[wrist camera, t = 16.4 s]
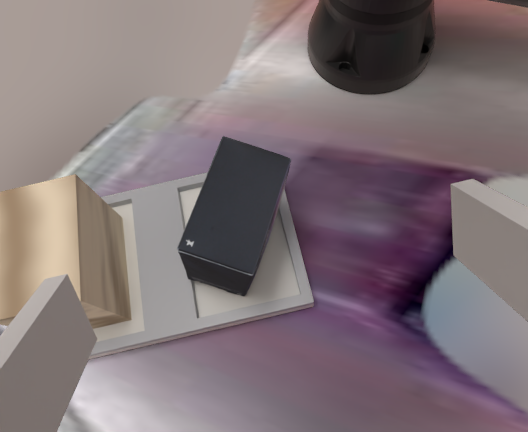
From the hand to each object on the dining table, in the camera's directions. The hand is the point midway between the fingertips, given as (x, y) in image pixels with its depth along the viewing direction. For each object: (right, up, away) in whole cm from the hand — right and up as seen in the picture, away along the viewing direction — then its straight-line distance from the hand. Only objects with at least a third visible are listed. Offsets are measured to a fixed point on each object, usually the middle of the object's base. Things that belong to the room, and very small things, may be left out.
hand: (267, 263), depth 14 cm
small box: (-3, -1, +28) cm, 28 cm away
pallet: (-10, -3, +30) cm, 31 cm away
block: (-18, -4, +28) cm, 33 cm away
